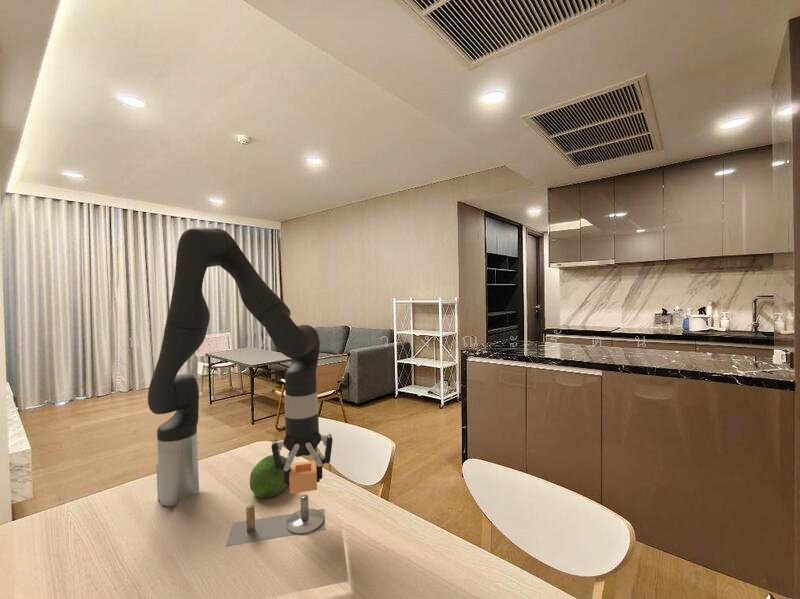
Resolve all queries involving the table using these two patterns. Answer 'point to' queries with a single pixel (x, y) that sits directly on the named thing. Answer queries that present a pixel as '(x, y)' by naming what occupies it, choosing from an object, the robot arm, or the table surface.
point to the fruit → (267, 478)
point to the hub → (304, 519)
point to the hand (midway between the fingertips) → (303, 482)
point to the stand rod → (250, 518)
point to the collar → (303, 477)
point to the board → (262, 530)
